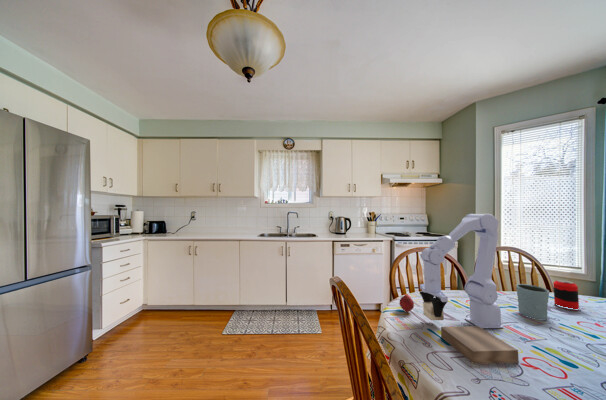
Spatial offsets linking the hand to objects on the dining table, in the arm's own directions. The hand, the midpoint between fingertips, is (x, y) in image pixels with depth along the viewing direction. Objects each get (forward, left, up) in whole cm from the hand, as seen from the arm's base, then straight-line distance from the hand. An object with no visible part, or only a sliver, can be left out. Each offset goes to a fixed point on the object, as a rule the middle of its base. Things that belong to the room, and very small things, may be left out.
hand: (433, 313), depth 88 cm
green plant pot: (-49, -6, -4) cm, 49 cm away
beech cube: (0, 0, -2) cm, 2 cm away
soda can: (-75, -14, -4) cm, 76 cm away
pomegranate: (+5, -11, -4) cm, 13 cm away
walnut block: (-4, +16, -5) cm, 17 cm away
